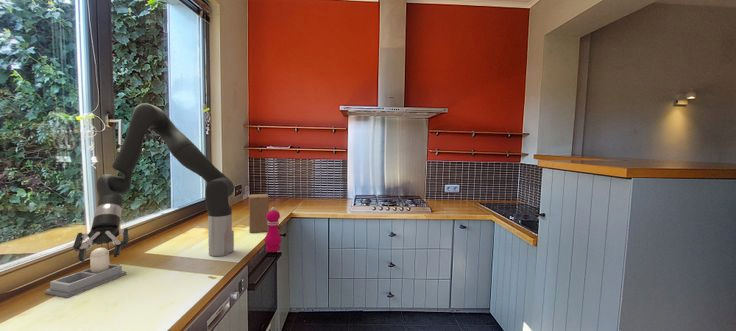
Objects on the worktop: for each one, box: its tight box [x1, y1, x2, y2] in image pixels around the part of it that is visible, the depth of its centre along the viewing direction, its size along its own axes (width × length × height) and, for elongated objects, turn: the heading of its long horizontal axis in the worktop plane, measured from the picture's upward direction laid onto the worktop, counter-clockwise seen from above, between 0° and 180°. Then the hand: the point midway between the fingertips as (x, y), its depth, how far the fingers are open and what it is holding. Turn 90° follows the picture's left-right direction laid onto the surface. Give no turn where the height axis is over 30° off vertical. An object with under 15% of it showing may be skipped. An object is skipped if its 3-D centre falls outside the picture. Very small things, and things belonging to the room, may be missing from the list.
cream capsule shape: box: [89, 247, 110, 274], centre depth 98 cm, size 5×5×10 cm
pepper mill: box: [264, 206, 282, 253], centre depth 129 cm, size 7×7×20 cm
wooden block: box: [248, 193, 270, 234], centre depth 159 cm, size 10×10×20 cm
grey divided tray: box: [45, 263, 127, 299], centre depth 95 cm, size 10×17×4 cm, turn 166°
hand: (99, 258), depth 97 cm, fingers open, 8 cm apart
